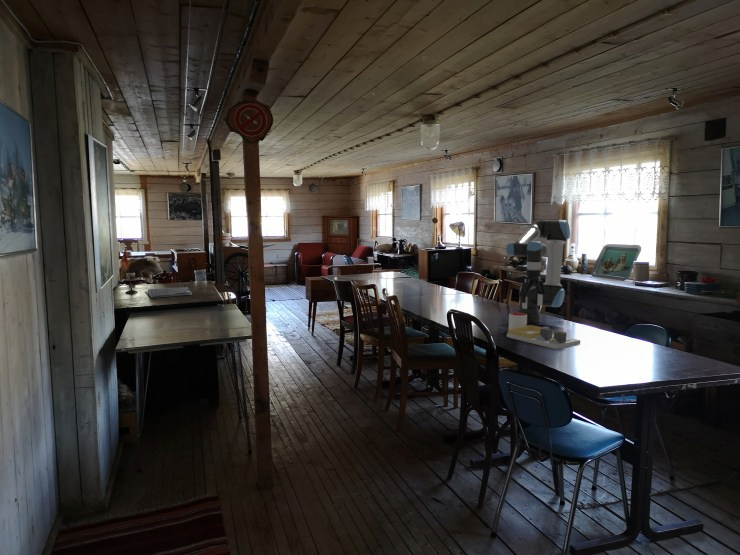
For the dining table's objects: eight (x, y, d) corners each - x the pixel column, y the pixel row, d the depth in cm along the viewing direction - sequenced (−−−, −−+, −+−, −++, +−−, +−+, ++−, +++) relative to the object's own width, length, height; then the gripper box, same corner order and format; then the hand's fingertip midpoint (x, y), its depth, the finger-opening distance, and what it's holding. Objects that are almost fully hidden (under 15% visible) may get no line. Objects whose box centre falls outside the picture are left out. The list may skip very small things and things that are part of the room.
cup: (524, 329, 310) (525, 312, 309) (527, 333, 300) (528, 315, 299) (507, 329, 311) (507, 312, 310) (510, 332, 301) (510, 315, 300)
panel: (530, 332, 302) (530, 324, 301) (580, 344, 275) (580, 335, 275) (506, 336, 291) (506, 328, 290) (555, 349, 264) (556, 340, 264)
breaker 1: (544, 337, 280) (545, 326, 280) (552, 338, 277) (552, 327, 276) (540, 338, 278) (540, 326, 277) (547, 339, 274) (547, 328, 274)
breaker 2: (558, 340, 273) (559, 329, 273) (566, 342, 270) (566, 331, 269) (553, 341, 271) (554, 330, 271) (561, 342, 267) (561, 332, 267)
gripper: (541, 267, 302) (540, 303, 305) (513, 270, 287) (512, 308, 290) (553, 268, 296) (551, 305, 299) (524, 271, 281) (523, 310, 284)
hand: (532, 307), depth 294 cm, fingers open, 13 cm apart
